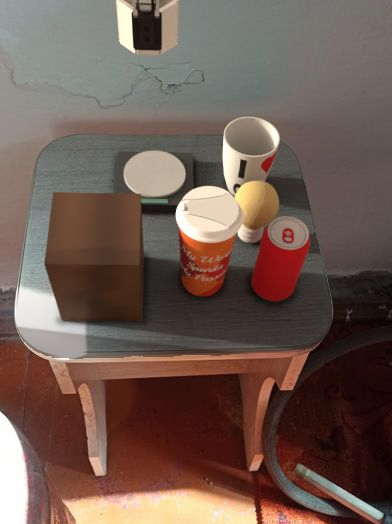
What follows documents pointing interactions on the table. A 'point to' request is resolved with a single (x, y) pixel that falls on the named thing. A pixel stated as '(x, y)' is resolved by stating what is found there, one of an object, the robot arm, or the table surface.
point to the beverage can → (280, 258)
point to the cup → (248, 151)
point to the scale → (155, 177)
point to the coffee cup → (207, 237)
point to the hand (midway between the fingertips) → (148, 26)
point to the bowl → (169, 25)
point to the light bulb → (256, 208)
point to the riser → (96, 256)
